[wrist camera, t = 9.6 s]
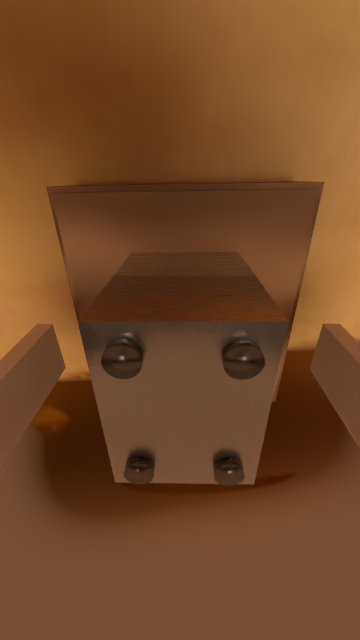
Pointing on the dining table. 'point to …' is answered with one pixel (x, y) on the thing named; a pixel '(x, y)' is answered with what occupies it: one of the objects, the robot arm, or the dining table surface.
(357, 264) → the dining table surface
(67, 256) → the stand
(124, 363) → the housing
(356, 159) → the dining table surface
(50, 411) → the dining table surface
